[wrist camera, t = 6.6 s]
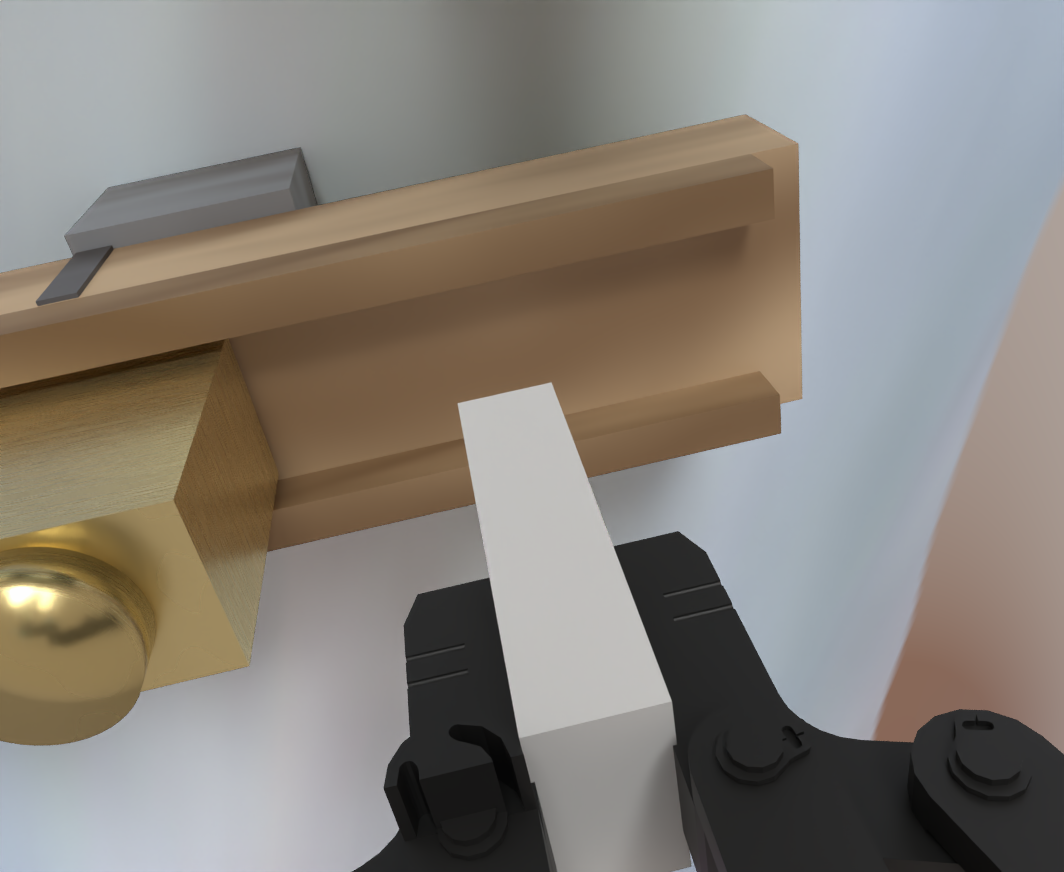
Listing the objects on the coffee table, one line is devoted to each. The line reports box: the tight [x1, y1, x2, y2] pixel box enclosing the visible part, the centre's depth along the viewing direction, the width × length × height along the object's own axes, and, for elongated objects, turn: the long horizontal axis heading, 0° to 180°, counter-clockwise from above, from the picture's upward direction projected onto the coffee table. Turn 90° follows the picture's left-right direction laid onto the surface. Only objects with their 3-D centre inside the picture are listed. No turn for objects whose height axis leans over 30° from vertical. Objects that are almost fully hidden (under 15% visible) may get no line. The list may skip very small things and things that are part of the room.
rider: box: [0, 339, 279, 745], centre depth 16 cm, size 3×5×7 cm
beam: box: [0, 115, 802, 552], centre depth 21 cm, size 7×26×10 cm, turn 100°
